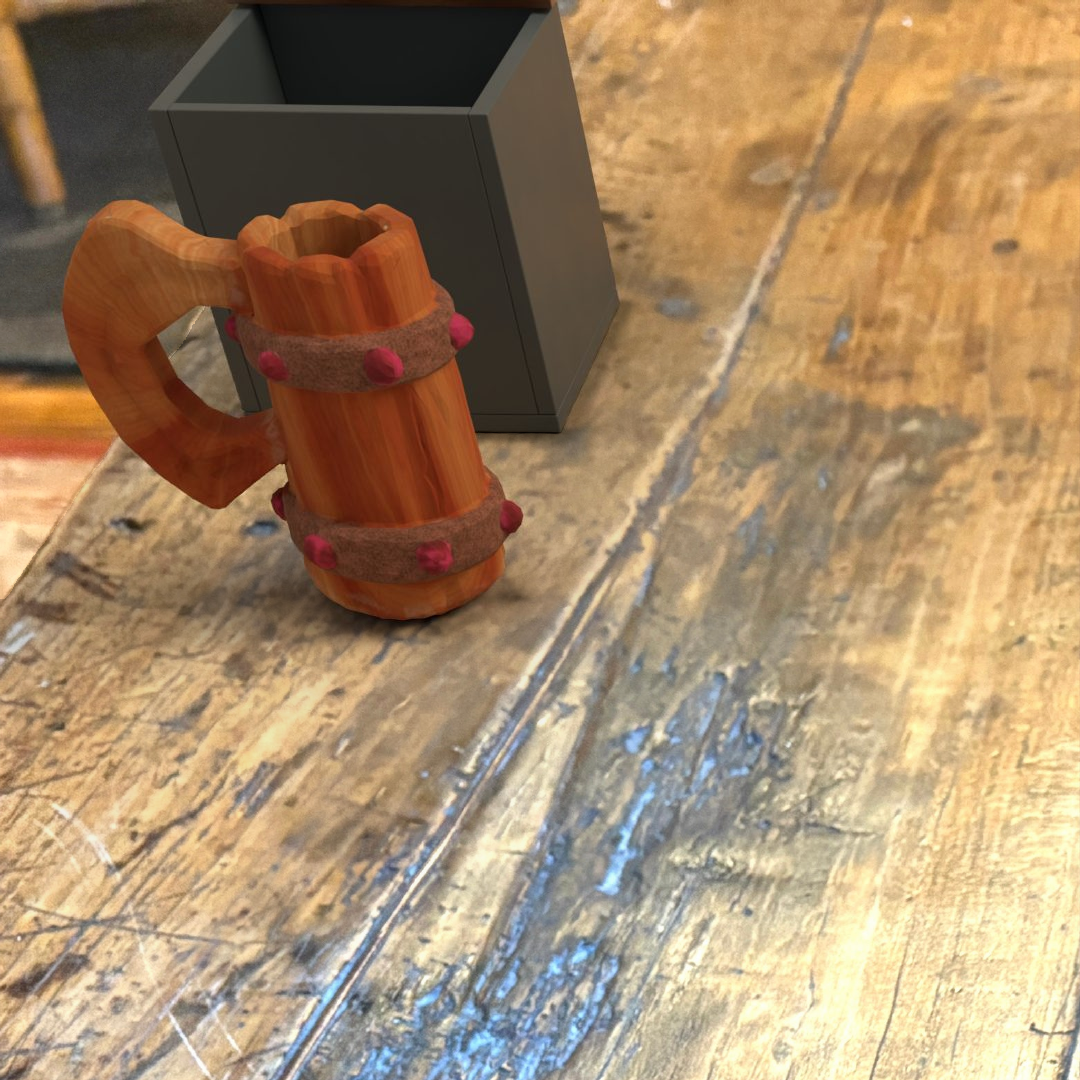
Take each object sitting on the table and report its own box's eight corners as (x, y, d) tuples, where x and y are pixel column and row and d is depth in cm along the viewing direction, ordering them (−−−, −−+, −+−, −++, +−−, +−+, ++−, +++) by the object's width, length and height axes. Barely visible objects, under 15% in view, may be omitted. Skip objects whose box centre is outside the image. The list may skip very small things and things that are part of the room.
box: (248, 430, 117) (146, 109, 108) (331, 300, 127) (243, -5, 117) (560, 433, 118) (487, 114, 108) (620, 304, 127) (557, 0, 118)
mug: (557, 540, 111) (465, 162, 100) (521, 638, 105) (420, 250, 95) (196, 543, 110) (65, 162, 99) (141, 643, 105) (-5, 251, 94)
